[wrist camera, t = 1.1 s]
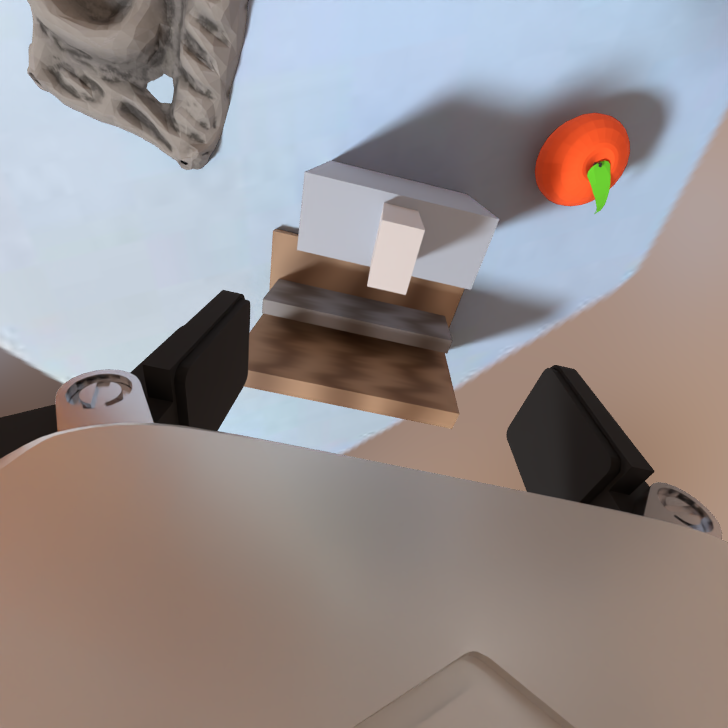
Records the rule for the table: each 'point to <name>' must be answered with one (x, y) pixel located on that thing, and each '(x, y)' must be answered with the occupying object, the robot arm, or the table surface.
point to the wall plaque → (143, 65)
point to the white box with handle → (393, 226)
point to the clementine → (582, 160)
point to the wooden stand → (353, 338)
